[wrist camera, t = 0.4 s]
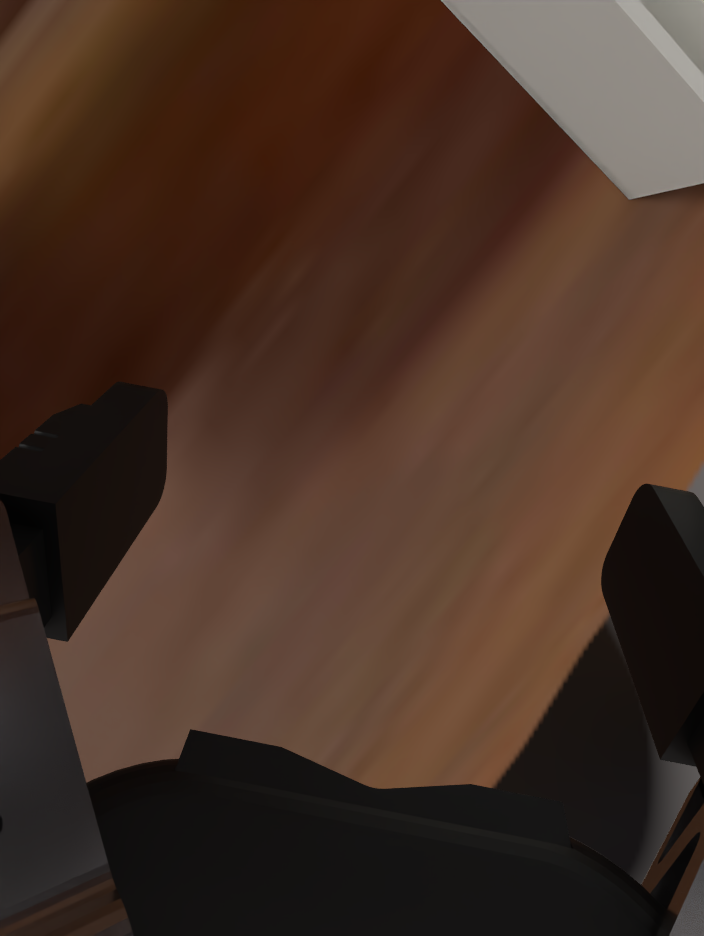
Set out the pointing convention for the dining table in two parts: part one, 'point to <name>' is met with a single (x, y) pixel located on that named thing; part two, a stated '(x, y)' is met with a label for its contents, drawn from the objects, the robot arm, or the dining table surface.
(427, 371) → the dining table surface
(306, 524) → the dining table surface
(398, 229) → the dining table surface
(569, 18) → the carton
